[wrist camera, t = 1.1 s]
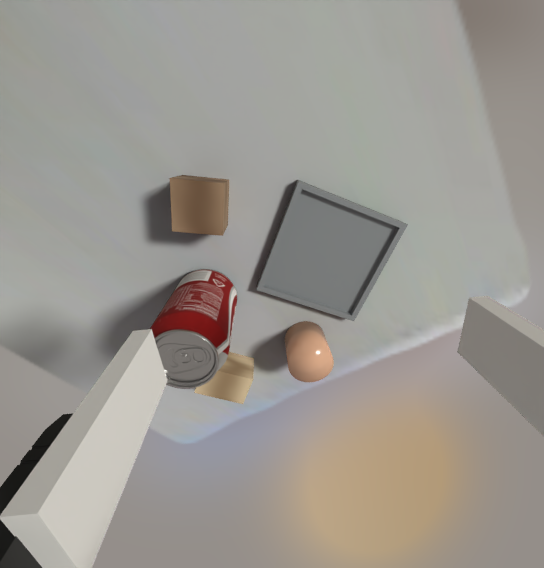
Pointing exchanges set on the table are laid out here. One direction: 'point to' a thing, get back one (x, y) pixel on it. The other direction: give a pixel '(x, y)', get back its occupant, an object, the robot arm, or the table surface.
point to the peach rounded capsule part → (308, 352)
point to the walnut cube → (199, 204)
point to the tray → (328, 252)
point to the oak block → (230, 379)
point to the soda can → (196, 328)
